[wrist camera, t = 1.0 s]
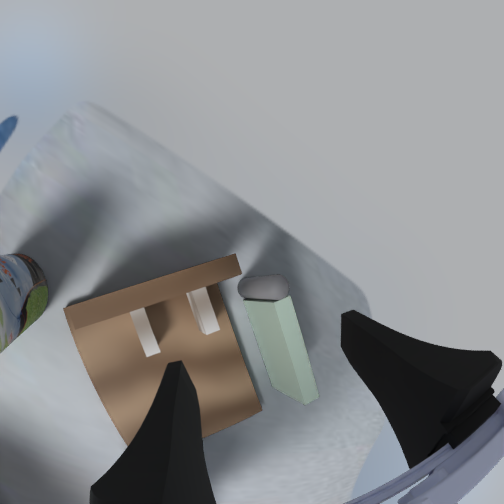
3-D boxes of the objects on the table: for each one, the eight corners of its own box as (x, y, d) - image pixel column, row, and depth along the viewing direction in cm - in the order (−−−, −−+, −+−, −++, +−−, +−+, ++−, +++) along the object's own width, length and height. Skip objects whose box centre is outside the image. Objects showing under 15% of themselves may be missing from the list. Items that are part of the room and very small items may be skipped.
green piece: (286, 379, 28) (320, 395, 22) (271, 388, 27) (303, 406, 21) (253, 275, 28) (285, 270, 22) (235, 281, 27) (263, 279, 21)
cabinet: (259, 407, 26) (295, 434, 20) (137, 457, 20) (144, 499, 13) (207, 262, 26) (235, 253, 19) (65, 307, 20) (41, 314, 13)
